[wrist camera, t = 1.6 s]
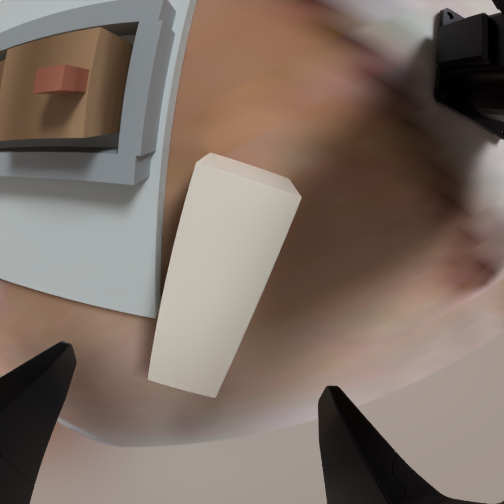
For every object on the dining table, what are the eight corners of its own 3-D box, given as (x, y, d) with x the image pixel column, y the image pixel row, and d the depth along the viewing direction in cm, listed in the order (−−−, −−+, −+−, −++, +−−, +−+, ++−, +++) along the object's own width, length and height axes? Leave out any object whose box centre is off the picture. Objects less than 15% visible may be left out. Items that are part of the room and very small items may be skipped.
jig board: (216, -63, 8) (209, -94, 5) (160, 306, 17) (146, 341, 14) (21, -21, 7) (-6, -31, 4) (-1, 267, 16) (-26, 288, 13)
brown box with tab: (140, 49, 10) (79, 16, 5) (127, 131, 12) (58, 142, 7) (-18, 78, 9) (-80, 83, 4) (-24, 137, 11) (-86, 156, 6)
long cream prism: (288, 177, 14) (302, 197, 11) (220, 351, 19) (215, 398, 15) (210, 152, 14) (196, 162, 10) (162, 335, 18) (147, 379, 15)
